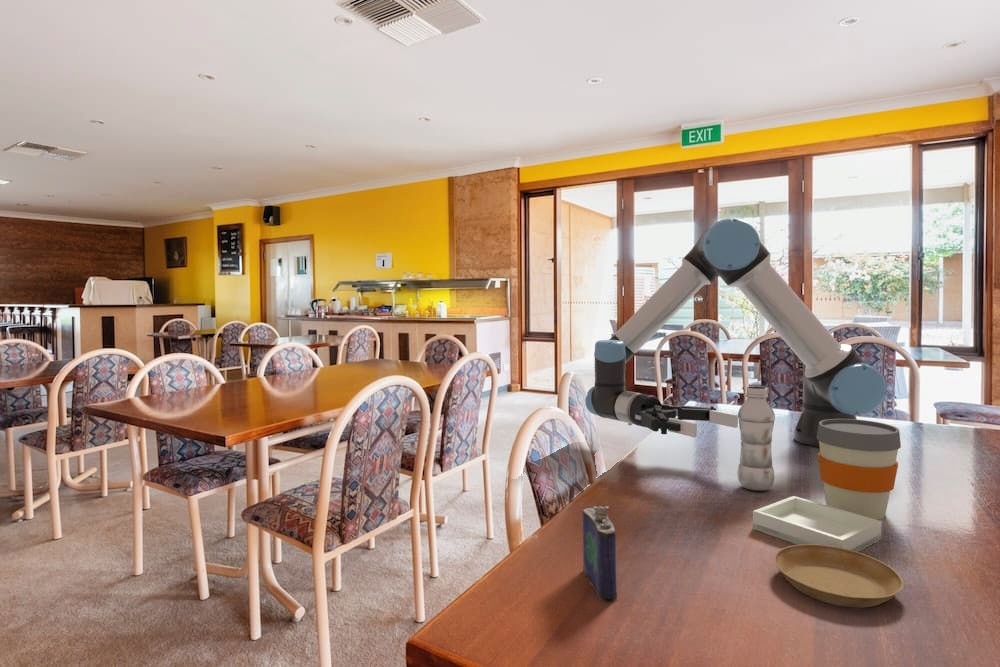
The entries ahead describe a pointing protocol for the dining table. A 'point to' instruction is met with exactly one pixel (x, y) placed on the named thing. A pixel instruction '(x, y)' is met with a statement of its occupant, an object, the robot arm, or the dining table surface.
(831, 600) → the plant saucer
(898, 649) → the dining table surface
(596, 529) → the flask
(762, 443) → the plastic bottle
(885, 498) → the reusable coffee cup
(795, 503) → the tray
